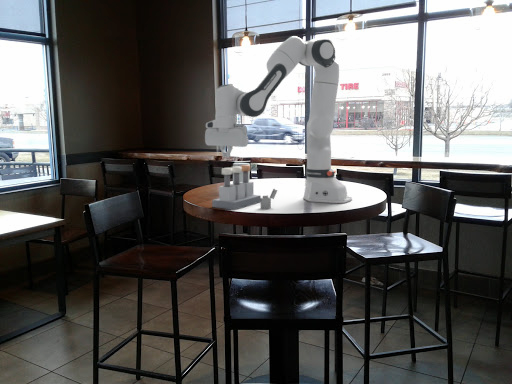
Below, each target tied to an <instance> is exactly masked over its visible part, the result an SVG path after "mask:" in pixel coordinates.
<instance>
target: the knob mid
mask: <svg viewBox="0 0 512 384" xmlns="http://www.w3.org/2000/svg"><path fill="white" fill-rule="evenodd" d="M230 168H232V174H233V173H234V185H240V184H239V173H241V172H242V167H239V166H235V167H233V166H231V167H230Z"/></svg>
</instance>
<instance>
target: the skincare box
mask: <svg viewBox="0 0 512 384" xmlns="http://www.w3.org/2000/svg"><path fill="white" fill-rule="evenodd" d="M241 165H250V166H251V164H250V162H234V163H232V167H235V166H239V167H241ZM250 172H251V170H250V171H248V182H250V176H251V175H250ZM239 182H243V171H242V172H241V173H239ZM232 184H234V173H232Z"/></svg>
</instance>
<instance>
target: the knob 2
mask: <svg viewBox="0 0 512 384" xmlns="http://www.w3.org/2000/svg"><path fill="white" fill-rule="evenodd" d="M241 167H242V171H243V183H248V171H250V172H251V164H250V165H241Z"/></svg>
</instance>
